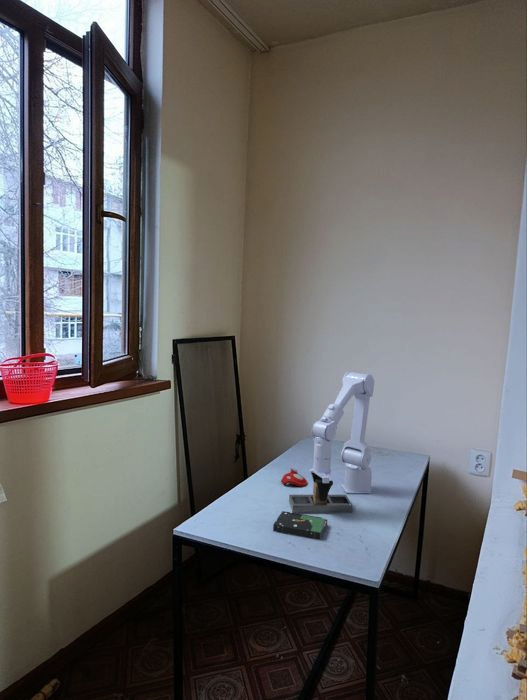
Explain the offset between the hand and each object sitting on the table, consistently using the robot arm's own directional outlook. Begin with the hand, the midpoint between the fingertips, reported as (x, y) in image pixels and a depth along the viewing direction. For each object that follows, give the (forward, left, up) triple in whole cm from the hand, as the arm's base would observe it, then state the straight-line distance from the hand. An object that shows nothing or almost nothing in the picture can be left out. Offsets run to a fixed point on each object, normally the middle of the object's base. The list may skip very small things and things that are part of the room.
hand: (320, 495), depth 164 cm
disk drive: (+9, +15, -5) cm, 18 cm away
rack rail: (0, 0, -4) cm, 4 cm away
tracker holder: (+5, -23, -4) cm, 24 cm away
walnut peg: (0, 0, -4) cm, 4 cm away
